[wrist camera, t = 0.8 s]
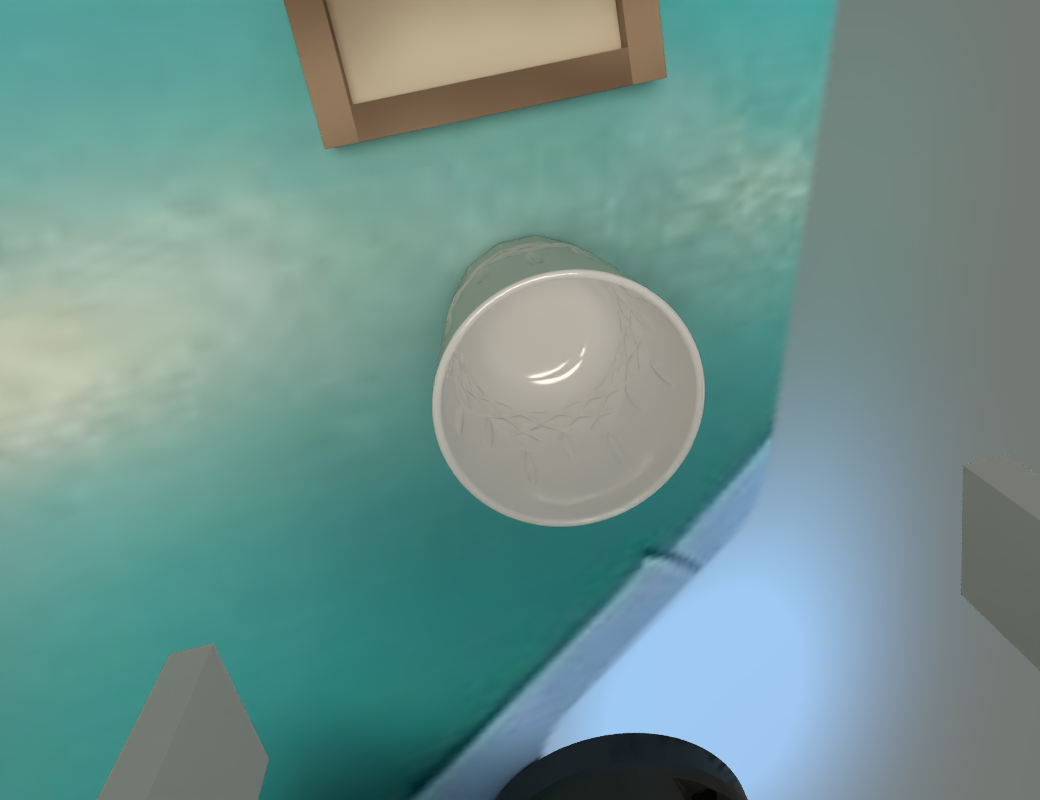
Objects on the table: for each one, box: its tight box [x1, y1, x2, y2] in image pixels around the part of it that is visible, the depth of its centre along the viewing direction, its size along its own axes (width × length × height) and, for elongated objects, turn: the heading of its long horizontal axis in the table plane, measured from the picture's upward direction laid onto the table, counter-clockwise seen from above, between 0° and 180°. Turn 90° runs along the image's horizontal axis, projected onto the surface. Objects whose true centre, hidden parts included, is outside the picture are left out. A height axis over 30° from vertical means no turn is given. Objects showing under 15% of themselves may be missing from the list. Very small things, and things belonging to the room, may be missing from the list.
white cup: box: [432, 236, 705, 527], centre depth 26 cm, size 8×8×10 cm
